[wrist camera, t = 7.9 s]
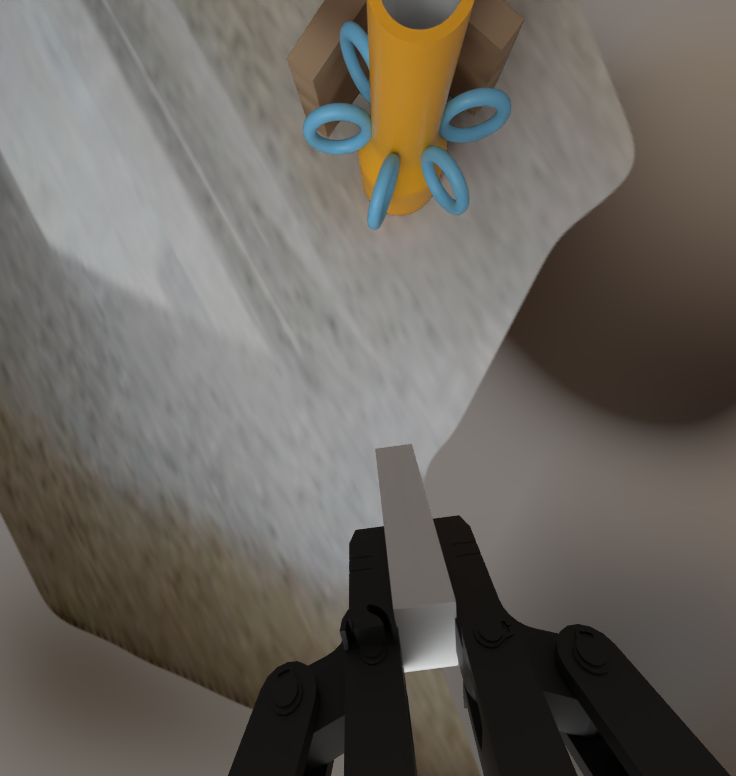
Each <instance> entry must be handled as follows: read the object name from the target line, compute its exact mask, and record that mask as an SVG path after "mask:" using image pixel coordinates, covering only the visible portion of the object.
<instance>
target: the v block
mask: <svg viewBox="0 0 736 776" xmlns="http://www.w3.org/2000/svg"><path fill="white" fill-rule="evenodd" d="M347 21H353V22H355V23H357V24H358V25H359V26H360V27H361V28H362V29H363V30H364V31H365V32H366V34H367V35H368V24H367V0H325V1H324V2H323V4H322V5H321V7H320V8H319V10H318V11H317V13H316V14H315V16H314V17H313V19H312V21H311V22H310V24H309V25H308V27H307V28H306V30H305V31H304V33H303V34H302V36H301V37H300V39H299V40H298V42H297V43H296V45H295V46H294V48H293V49H292V51H291V53H290V54H289V56H288V57H287V61H288V64H289V67H290V70H291V73H292V76H293V79H294V82H295V85H296V88H297V91H298V94H299V97H300V100H301V103H302V106H303V109H304V112H305V115H306V118H307V116H308V115H309V114H310V113H311V112H312V111H313V110H315V109H316V108H318V107H320V106H323V105H326V104H331V103H348V104H352V103H353V101H354V100H355V98H356V97H357V95H358V94H359V92H360V91H359V90H358V88H357V87H356V85H355V83H354V81H353V79H352V77H351V75H350V73H349V71H348V68H347V66H346V63H345V61H344V58H343V54H342V51H341V46H340V30H341V27H342V25H343V24H344V23H345V22H347ZM523 22H524V19H523V18H522V17H521V16H520V15H519V14H518V13H517V12H516V11H514V10H513V9H512V8H511V7H510V6H509V5H508V4H507V3H505V2H504V1H503V0H475V1H474V4H473V8H472V11H471V15H470V19H469V22H468V26H467V30H466V33H465V37H464V40H463V44H462V48H461V51H460V55H459V59H458V62H457V66H456V69H455V73H454V77H453V80H452V84H451V88H450V91H449V94H450V95H451V96H452V97H453V98H454V97H456V96H458V95H460V94H462V93H464V92H467V91H469V90H473V89H477V88H494V87H495V84H496V82H497V80H498V78H499V75H500V73H501V71H502V69H503V67H504V64H505V62H506V60H507V58H508V55H509V53H510V51H511V49H512V46H513V44H514V42H515V40H516V37H517V35H518V33H519V31H520V28H521V26H522V24H523ZM354 49H355V52H356V56H357V58H358V61H359V63H360V66H361V68H362V70H363V72H364V74H365V76H366V78H367V79H368V80H369V78H370V73H369V69H368V66H367V64H366V62H365V61H364V59H363V57H362V55H361V54H360V52H359V51H358V49H357V48H356V46H355V45H354ZM480 108H481V106H478V107H473V108H469V109H467V110H468V111H469V112H471V113H472V114H473V115H474V116H475V114H476V113H477V112H478V110H479V109H480ZM339 121H340V120H339ZM339 121H331V122H327V123H325V124H323V125H321V126H320V127H318V130H319V131H320V132H321V133H323V134H324V135H325V136H326V137H327V138H328V137H329V136H330V134H331V133H332V131H333V130H334V128H335V127H336V125H337V124H338V123H339Z"/></svg>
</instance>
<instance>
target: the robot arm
mask: <svg viewBox="0 0 736 776" xmlns="http://www.w3.org/2000/svg"><path fill="white" fill-rule="evenodd" d="M375 450H376V459H377V468H378V477H379V486H380V495H381V504H382V513H383V522H384V526H382V527H375V528H367V529H359V530H355V532H354V534H353V537H352V539H351V541H350V543H349V560H350V561H349V572H350V574H349V609H348V611H347V612H346V614H345V616H344V617H343V619H342V622H341V627H340V634H341V638H342V642H341V644H340V645H339V646H338V647H337V648H336V649H335V650H334V651H333V652H332V653H330V654H329V655H327V656H326V657H324V658H322V659H320V660H318V661H316V662H314V663H312V664H310V665H309V666H307V665H305V664H303V663H301V662H298V661H295V662H287V663H285V664H283V665H281V666H279V667H277V668H276V669H275V670H274V671H273V672H272V673H271V674H270V675H269V676H268V677H267V679H266V681H265V683H264V685H263V686H262V688H261V690H260V693H259V695H258V698H257V701H256V703H255V706H254V709H253V711H252V714H251V716H250V719H249V722H248V724H247V727H246V730H245V732H244V735H243V738H242V740H241V743H240V745H239V748H238V751H237V753H236V756H235V759H234V761H233V764H232V767H231V769H230V772H229V774H228V776H331V773H332V768H333V763H334V759H335V758H337V757H338V756H340V755H342V754H343V753H344V776H418V775H417V767H416V759H415V751H414V743H413V735H412V727H411V719H410V711H409V703H408V696H407V689H406V681H405V673H404V672H410V671H418V670H426V669H434V668H441V667H449V666H457V665H458V661H459V665H460V669H461V673H462V677H463V694H464V696H463V698H464V708H468V712H469V716H470V720H471V724H472V729H473V733H474V737H475V741H476V745H477V749H478V753H479V758H480V762H481V766H482V770H483V774H484V776H577V773H576V771H575V768H574V766H573V764H572V761H571V759H570V756H569V754H568V751H567V749H568V750H569V752H570V754H571V755H572V757H573V758H574V760H575V762H576V763H577V765H578V767H579V768H580V770H581V772H582V773H583V775H584V776H730V775H729V773H728V772H727V771H726V770H725V769H724V768H723V767H722V765H721V764H720V763H719V762H718V761H717V760H716V759H715V758H714V756H713V755H712V754H711V753H710V752H709V751H708V750H707V748H706V747H705V746H704V745H703V744H702V743H701V742H700V740H699V739H698V738H697V737H696V736H695V735H694V734H693V733H692V731H691V730H690V729H689V728H688V727H687V726H686V725H685V723H684V722H683V721H682V720H681V719H680V718H679V717H678V715H677V714H676V713H675V712H674V711H673V710H672V709H671V708H670V706H669V705H668V704H667V703H666V702H665V701H664V699H663V698H662V697H661V696H660V695H659V694H658V693H657V692H656V691H655V689H654V688H653V687H652V686H651V685H650V684H649V682H648V681H647V680H646V679H645V678H644V677H643V676H642V674H641V673H640V672H639V671H638V670H637V669H636V668H635V667H634V665H633V664H632V663H631V662H630V661H629V660H628V659H627V657H626V656H625V655H624V654H623V653H622V652H621V651H620V649H619V648H618V647H617V646H616V645H615V644H614V643H613V642H612V641H611V640H610V639H609V638H607V637H606V636H605V635H604V634H603V633H601V632H599V631H597V630H595V629H594V628H592V627H589V626H585V625H580V624H575V625H569V626H566V627H565V628H564V629H563V630H561V631H560V633H559V634H558V633H553V632H549V631H544V630H539V629H535V628H532V627H529V626H526V625H524V624H522V623H520V622H518V621H517V620H515V619H514V618H513V617H512V616H511V615H509V614H508V612H507V611H506V610H505V609H504V608H503V606H502V604H501V602H500V600H499V598H498V595H497V593H496V590H495V588H494V586H493V583H492V581H491V578H490V576H489V573H488V570H487V568H486V566H485V563H484V561H483V558H482V556H481V554H480V550H479V548H478V545H477V544H476V541H475V538H474V535H473V533H472V530H471V528H470V526H469V525H468V524H467V523H466V522H465V521H464V520H463V519H462V518H461V517H460V516H459V515H458V516H451V517H443V518H435V519H433V518H432V515H431V511H430V508H429V504H428V500H427V497H426V493H425V490H424V486H423V482H422V479H421V475H420V472H419V468H418V465H417V461H416V458H415V454H414V450H413V447H412V444H408V445H401V446H393V447H386V448H378V449H375ZM565 745H566V747H567V749H566V747H565Z"/></svg>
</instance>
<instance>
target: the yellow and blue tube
mask: <svg viewBox="0 0 736 776" xmlns="http://www.w3.org/2000/svg"><path fill="white" fill-rule="evenodd" d="M474 1H475V0H367V24H368V35H367V34H366V32H365V31H364V30H363V29H362V28H361V27H360V26H359V25H358V24H357V23H355V22H353V21H347V22H345V23H344V24H343V25H342V27H341V30H340V46H341V51H342V54H343V58H344V61H345V63H346V66H347V68H348V71H349V73H350V75H351V77H352V79H353V81H354V83H355V85H356V87H357V88H358V90H359V91H360V93H361V94H362V96H363V97H364V98H365V100H366V101H367V102H368V103H369V104H370V105H371V116H370V115H369V114H368V113H367V112H366V111H365V110H363V109H362V108H360V107H358V106H355V105H352V104H348V103H331V104H326V105H323V106H320V107H318V108H316V109H315V110H313V111H312V112H311V113H310V114H309V115H308V116H307V118H306V119H305V121H304V125H303V133H304V137H305V139H306V141H307V142H308V143H309V144H310V145H311V146H312V147H313V148H315V149H316V150H318V151H321V152H324V153H328V154H347V153H352V152H355V151H357V150H358V156H359V165H360V173H361V181H362V186H363V189H364V192H365V194H366V196H367V198H368V199H369V201H370V206H369V211H368V219H367V222H368V226H369V228H371V229H372V230H376V229H378V228H379V227H380V226H381V224H382V222H383V220H384V218H385V215H386V213H387V214H390V215H397V216H401V215H407V214H411V213H413V212H415V211H417V210H419V209H420V208H422V207H423V206H424V205H425V204H426V203H427V202H428V201H429V200H430V198H431V197H432V195H433V196H434V198H435V199H436V200H437V202H438V203H439V204H440V205H441V206H442V207H443V208H444V209H445V210H446V211H448V212H449V213H451V214H454V215H460V214H462V213H464V212H465V211H466V209H467V207H468V205H469V191H468V187H467V184H466V181H465V178H464V176H463V174H462V172H461V170H460V168H459V166H458V165H457V163H456V162H455V160H454V159H453V158H452V157H451V156H450V154H449V153H448V152H447V141H450V142H456V143H464V142H471V141H475V140H479V139H481V138H484V137H486V136H488V135H490V134H492V133H494V132H495V131H496V130H498V129H499V128H500V127H501V126H502V125H503V124H504V123H505V122H506V120H507V119H508V117H509V115H510V112H511V101H510V98H509V97H508V95H507V94H506V93H505V92H503V91H501V90H499V89H496V88H477V89H473V90H469V91H467V92H464V93H462V94H460V95H458V96H456V97H454V98H453V99H451V100H450V101H449V102H448V103H447V104H446V102H447V99H448V95H449V91H450V88H451V84H452V80H453V77H454V73H455V69H456V66H457V62H458V59H459V55H460V51H461V48H462V44H463V40H464V37H465V33H466V30H467V26H468V22H469V19H470V15H471V11H472V8H473V4H474ZM354 45H355V46H356V48H357V49H358V51H359V52H360V54H361V55H362V57H363V59H364V61H365V62H366V64H367V66H368V69H369V73H370V82H369V81H368V79H367V78H366V76H365V74H364V72H363V70H362V68H361V66H360V63H359V61H358V58H357V56H356V52H355V49H354ZM478 106H489V107H493V108H495V109H496V110H497V112H496V113H495V115H494V116H493V117H491V118H490V119H489V120H487V121H485V122H484V123H481V124H479V125H476V126H473V127H468V128H457V127H453V126H451V125H450V124H449V122H450V120H451V119H452V118H453V117H454V116H455V115H457V114H458V113H460V112H462V111H464V110H467V109H469V108H473V107H478ZM339 120H341V121H349V122H353V123H355V124H357V125H358V126H360V128H361V131H360V132H359V133H358V134H357V135H355V136H354V137H351V138H348V139H344V140H330V139H326V138H324V137H321V136H320V135H318V134H317V132H316V130H317V129H318V127H320V126H321V125H323V124H325V123H327V122H331V121H339ZM442 171H443V172H444V174H445V175H446V177H447V178H448V180H449V182H450V184H451V186H452V188H453V191H454V194H455V198H456V200H454V199H453V198H452V197H451V196H450V195H449V194H448V193H447V192H446V191H445V189H444V188H443V186H442V184H441V183H440V181H439V178H440V175H441V172H442Z"/></svg>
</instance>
